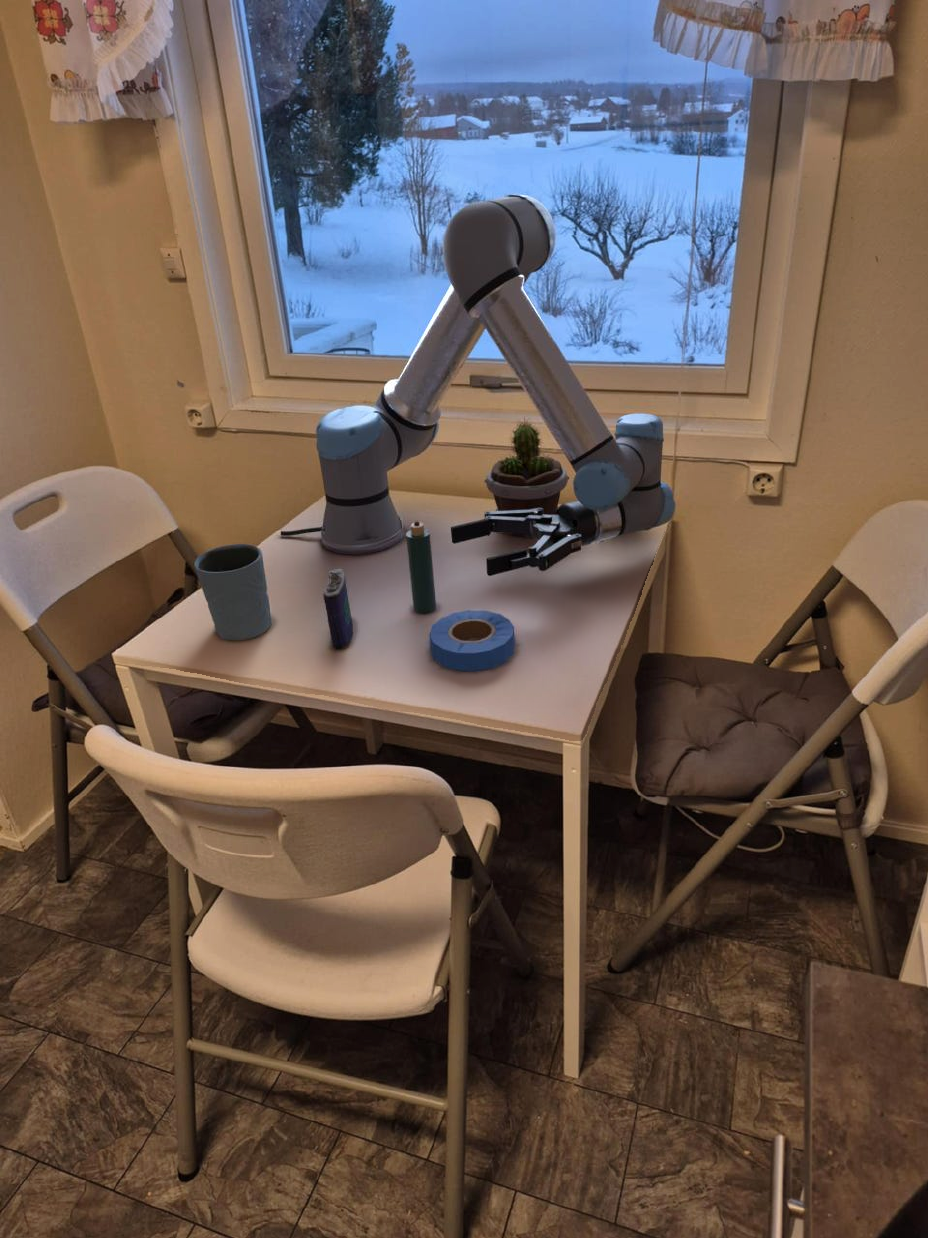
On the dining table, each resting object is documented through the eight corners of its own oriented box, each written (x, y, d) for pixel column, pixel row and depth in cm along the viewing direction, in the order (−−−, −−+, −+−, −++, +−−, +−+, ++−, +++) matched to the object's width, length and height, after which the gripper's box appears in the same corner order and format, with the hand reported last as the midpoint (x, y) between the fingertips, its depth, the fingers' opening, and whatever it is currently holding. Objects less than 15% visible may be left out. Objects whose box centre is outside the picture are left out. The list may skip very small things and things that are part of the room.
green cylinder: (409, 611, 135) (399, 524, 127) (422, 601, 137) (413, 515, 130) (428, 616, 133) (419, 528, 126) (440, 605, 136) (433, 519, 128)
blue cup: (245, 648, 128) (229, 577, 122) (196, 635, 132) (178, 565, 126) (289, 617, 135) (276, 549, 129) (241, 605, 140) (226, 538, 134)
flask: (337, 619, 134) (327, 557, 129) (355, 618, 134) (347, 556, 128) (330, 650, 126) (320, 586, 121) (350, 649, 126) (341, 585, 120)
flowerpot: (566, 543, 153) (565, 434, 143) (481, 541, 156) (475, 434, 146) (571, 511, 165) (571, 409, 155) (493, 510, 168) (488, 410, 158)
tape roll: (415, 658, 122) (413, 641, 121) (459, 620, 131) (458, 603, 130) (488, 679, 117) (487, 661, 115) (528, 638, 125) (528, 620, 124)
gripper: (628, 570, 132) (505, 604, 125) (550, 517, 152) (440, 543, 146) (629, 526, 129) (503, 558, 122) (549, 477, 149) (437, 502, 142)
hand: (468, 550), depth 134 cm, fingers open, 13 cm apart
